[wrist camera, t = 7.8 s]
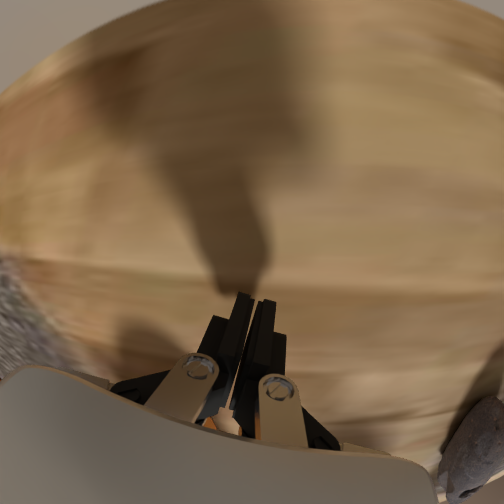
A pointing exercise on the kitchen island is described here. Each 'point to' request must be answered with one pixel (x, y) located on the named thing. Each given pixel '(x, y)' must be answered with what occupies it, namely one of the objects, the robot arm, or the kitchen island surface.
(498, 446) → the perforated stone tool
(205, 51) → the kitchen island surface
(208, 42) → the kitchen island surface
